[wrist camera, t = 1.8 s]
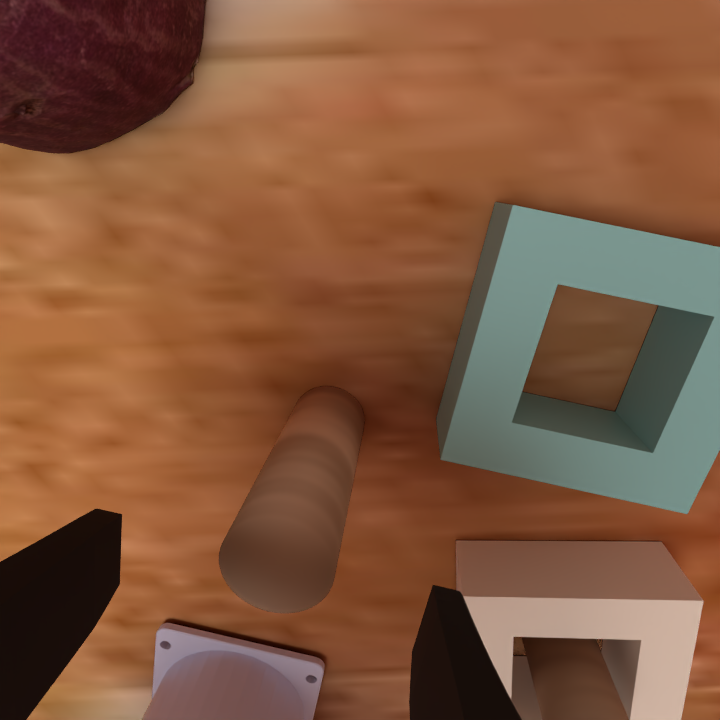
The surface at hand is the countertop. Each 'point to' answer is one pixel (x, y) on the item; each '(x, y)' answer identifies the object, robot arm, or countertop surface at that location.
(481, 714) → the robot arm
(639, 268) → the teal square frame block
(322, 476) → the maple dowel
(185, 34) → the vegetable
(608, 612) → the white peg holder
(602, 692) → the walnut dowel
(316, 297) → the countertop surface
